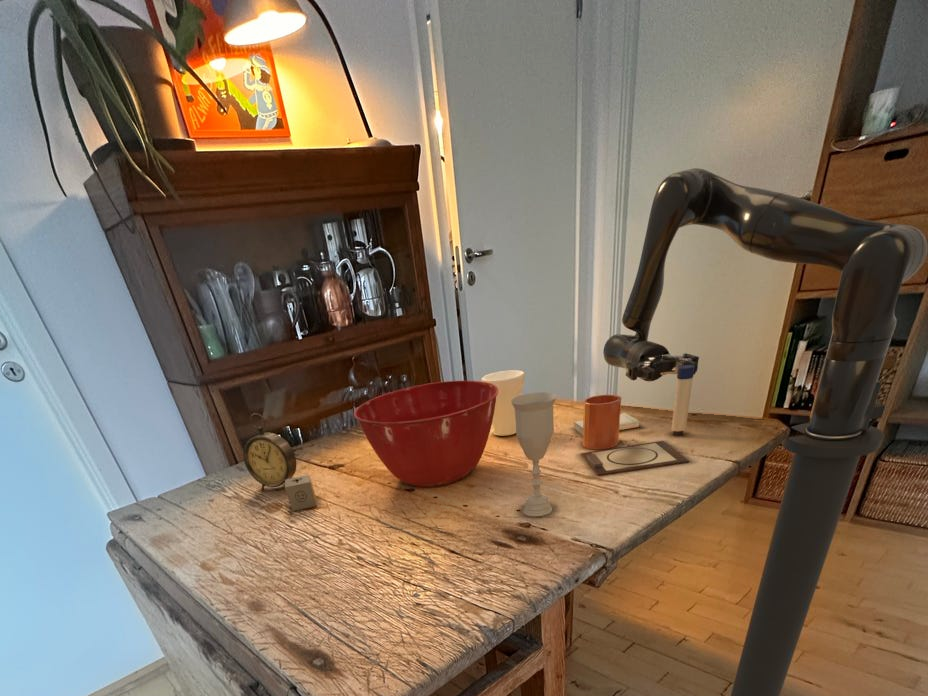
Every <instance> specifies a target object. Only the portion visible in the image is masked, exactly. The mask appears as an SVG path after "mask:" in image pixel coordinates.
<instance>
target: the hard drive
mask: <svg viewBox="0 0 928 696" xmlns="http://www.w3.org/2000/svg"><path fill="white" fill-rule="evenodd" d="M639 427H640V421H639V419H637V418H635V417H633V416H632V415H630V414H628V413H626V412H623V413H620V430H619V431H625V430H629V429H634V428H639ZM573 429H574V430H575V431H577V433H579V434H580V435H582V436H583V420H578V421H574V422H573Z"/></svg>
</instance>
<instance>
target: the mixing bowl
mask: <svg viewBox="0 0 928 696" xmlns="http://www.w3.org/2000/svg"><path fill="white" fill-rule="evenodd" d="M497 394H498V388H497V387H496V386H495V385H493V384H490V383H487V382H482V380H480V381H479V380H445V381H438V382H430V383H424V384H418V385H413V386H409V387H404V388H400V389H397V390H394V391H390V392H387V393H384V394H382V395H381V394H380V395H379V396H376V397H374V398H372V399H369V400H367V401H366V402H363V403H362V404H360V405H359V406H358V407H357V408H356V409H355V410H354V413H353V415H354V418H355V419H357V421H358V423H359V425H360V428H361V430H362V432H363V433H364V436H365V437H366V439H367V442H368V443H369V445H370V446H371V448H372V450H373V451H374V453H375V454H376V455H377V457H378V459H380V461H381V462H382V464H383V466H385V467H386V468H387V470H388V471H389V473H391V474H392V476H393V477H395V478H396V479H397V480H400V481H401V482H403V483H405V484H408V485H409V486H412V487H416V488H438V487H443V486H447V485H450V484H454V483H456V482H458V481H461V480H462V479H464V478H465V477H467V475H469V473H471V472H472V471H473V470H474V469H475V468H476V466H477V465H478V464H479V462H480V460H482V459H481V458H482V456H483V454H484V451H485V448H486V446H487V443H488V440H489V436H490V432H491V429H492V426H493V424H492V420H493V415H494V409H495V403H496V396H497Z"/></svg>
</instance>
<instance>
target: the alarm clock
mask: <svg viewBox="0 0 928 696" xmlns="http://www.w3.org/2000/svg"><path fill="white" fill-rule="evenodd" d="M254 416H259V417H260V418H261V419H262V420H263V426H258V427H257V426H256V425H255V424H254V423H253V417H254ZM249 421H250V424H251V425H252V426H253V427H254V428H255V429H257V430H258V435H255V436H253V437H250V438H249V439H248V440H247V441H246V443H245V444H244V447H243V450H242V451H243V453H242V456H243V457H242V458H243V462H244V465H245V467H246V469H247V471H248V473H249V474H250V476H251V477H252V478H253V479H254V480H255V481H256V482H258V483H259V484H261V488H260V489H261V490H262V491H264V490H265V487H267V488H279V487H281V486H283V485H284V484H285V480H286V479H291V478H294V476H295V474H296V470H297V458H296V454H295V452H294V449H293V448H292V446H291V445H290V444H289V442H288V441H287V440H286V439H284V438H283V437H282V436H281V435H279V434H276V433H274V432H264V428H266V419H265V417H263V415H262V414H260V413H258V412H254V413H252V414H250V418H249Z"/></svg>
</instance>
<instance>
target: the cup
mask: <svg viewBox="0 0 928 696" xmlns="http://www.w3.org/2000/svg"><path fill="white" fill-rule="evenodd" d="M480 381H481V382H487V383H490V384H493V385H495V386H496V387H497V388H498V394H497V396H496V403H495V409H494V415H493V420H492V429H493V434H494V435H496V436H511V435H514V434H516V421H515V408H514V406H513V404H512V403H511V400H512V399H513V398H515V397H517V396H521V395H523V386H524V382H525V372H524V371H522V370H516V369H515V370H514V369H513V370H512V369H511V370H501V371H496V372H492V373H488V374H486V375H483V376H482V378H481V380H480Z"/></svg>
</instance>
